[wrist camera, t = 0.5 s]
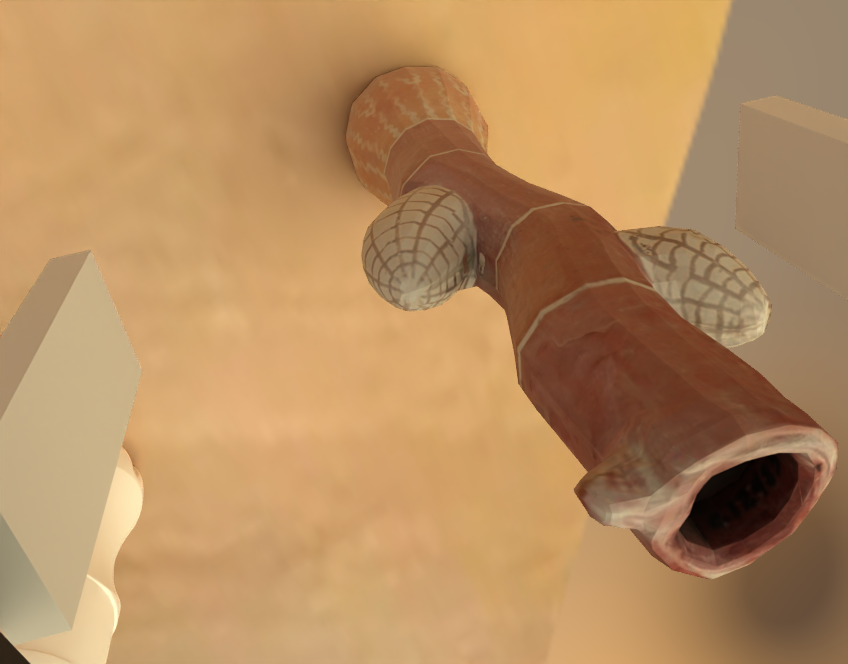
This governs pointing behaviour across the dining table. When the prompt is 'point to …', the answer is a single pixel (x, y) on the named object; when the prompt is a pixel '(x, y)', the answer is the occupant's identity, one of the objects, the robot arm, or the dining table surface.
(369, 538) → the dining table surface
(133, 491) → the water bottle
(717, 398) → the vase
